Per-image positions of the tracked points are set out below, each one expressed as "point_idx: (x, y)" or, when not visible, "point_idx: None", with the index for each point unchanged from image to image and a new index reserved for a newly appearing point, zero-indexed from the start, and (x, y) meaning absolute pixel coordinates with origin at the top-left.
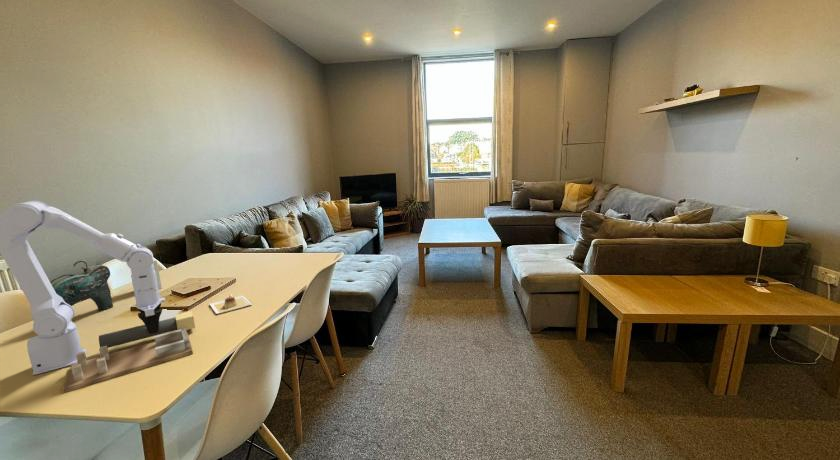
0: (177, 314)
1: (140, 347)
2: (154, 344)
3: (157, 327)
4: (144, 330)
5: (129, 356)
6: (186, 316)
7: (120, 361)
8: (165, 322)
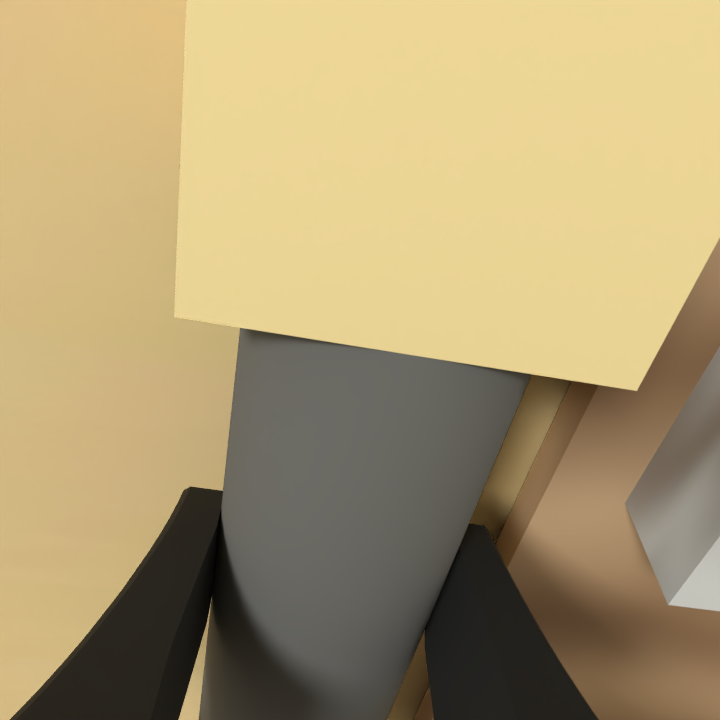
0: (182, 259)
1: (543, 599)
2: (620, 513)
3: (514, 602)
4: (402, 680)
5: (658, 670)
6: (640, 111)
7: (679, 709)
8: (446, 514)
